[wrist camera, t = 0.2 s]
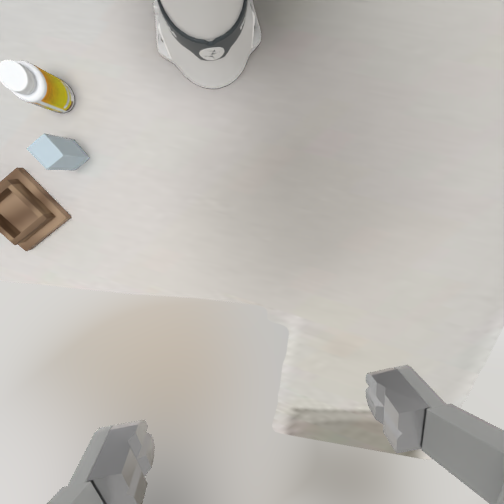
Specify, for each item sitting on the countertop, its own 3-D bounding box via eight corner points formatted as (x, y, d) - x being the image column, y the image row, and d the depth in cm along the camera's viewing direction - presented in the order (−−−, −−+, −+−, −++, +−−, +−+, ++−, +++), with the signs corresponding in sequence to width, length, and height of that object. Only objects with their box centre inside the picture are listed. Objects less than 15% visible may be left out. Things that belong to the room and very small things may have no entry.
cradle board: (-19, 204, 49) (-40, 206, 45) (23, 168, 48) (5, 167, 44) (31, 249, 53) (15, 255, 49) (71, 216, 51) (59, 220, 47)
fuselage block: (59, 152, 47) (26, 148, 40) (73, 139, 47) (43, 133, 39) (75, 170, 49) (46, 169, 41) (90, 157, 48) (63, 155, 40)
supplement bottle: (67, 76, 44) (21, 48, 34) (81, 110, 45) (40, 93, 36) (37, 82, 44) (-18, 56, 34) (51, 116, 45) (3, 101, 36)
